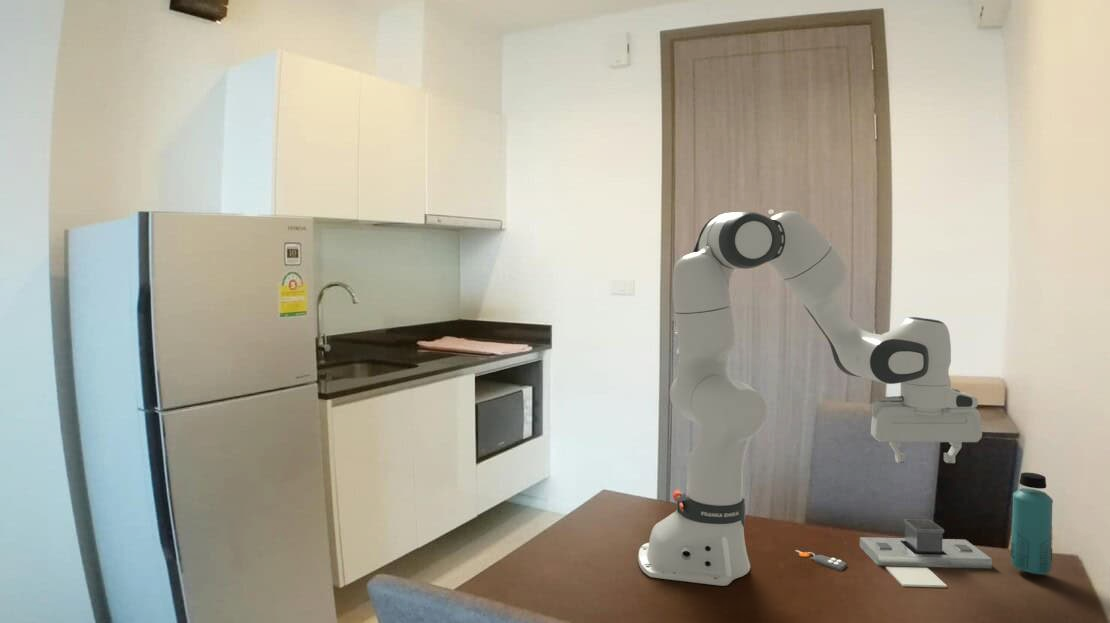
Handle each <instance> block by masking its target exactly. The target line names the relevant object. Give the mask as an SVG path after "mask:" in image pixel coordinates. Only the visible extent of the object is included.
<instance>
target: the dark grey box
mask: <svg viewBox="0 0 1110 623" xmlns="http://www.w3.org/2000/svg"><path fill="white" fill-rule="evenodd" d="M903 522H904V523H905V524H904V538H905V546H906V547H907V548H908V549H909V550H911V551H912V552H913V553H914V554H927V555H942V539H944V538H943V537H944V534H945V529H944V528H943V527H941V526H940V525H939V524H937V523H936V522H934V521H933V520H931V519H924V518H923V519H917V518H915V519H914V518H913V519H910V518H904V519H903Z"/></svg>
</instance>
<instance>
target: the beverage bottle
mask: <svg viewBox="0 0 1110 623" xmlns="http://www.w3.org/2000/svg"><path fill="white" fill-rule="evenodd" d="M1046 480H1047V479H1046V476H1044V475H1042V474H1039V473H1036V472H1035V473H1034V472H1029V471H1028V472H1021V473H1020V478H1019V484H1020V485H1021V486H1024V487H1025V488H1023V487H1022V488H1020V489H1017V490H1016V491H1014V492H1013V493H1012V514H1011V520H1012V521H1011V533H1010V536H1011V541H1010V556H1009V557H1010V561H1011V564H1012V566H1014V567H1015V568H1016V569H1018V570H1020V571H1022V572H1027V573H1029V574H1035V575H1046V574H1047V575H1048V574H1049V573H1050V572H1051V570H1052V568H1053V566H1052V563H1053V541H1054V540H1053V536H1054V535H1053V533H1054V532H1053V529H1054V528H1053V504H1054V500H1053V498H1052V497H1051V496H1050V495H1049V494H1048V493H1046V492H1045V491H1042V490H1043V489H1047V481H1046ZM1038 489H1039V490H1038ZM1041 489H1042V490H1041Z"/></svg>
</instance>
